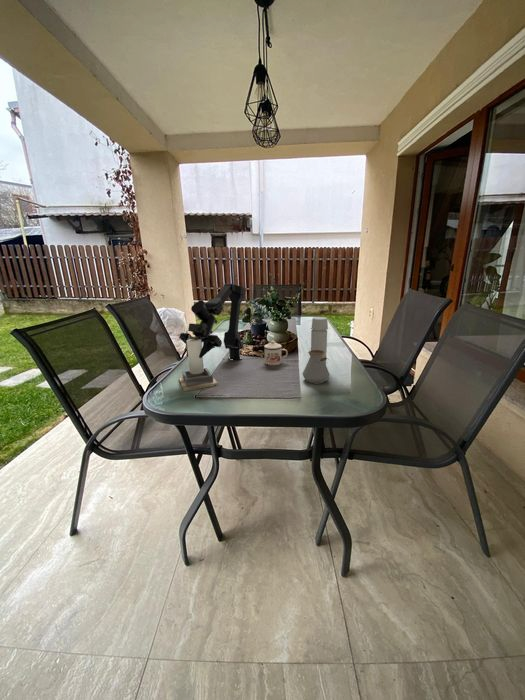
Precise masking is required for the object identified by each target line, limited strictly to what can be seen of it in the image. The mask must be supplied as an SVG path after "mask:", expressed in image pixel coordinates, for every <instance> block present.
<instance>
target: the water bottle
mask: <svg viewBox="0 0 525 700" xmlns="http://www.w3.org/2000/svg"><path fill="white" fill-rule="evenodd" d="M328 323H329V322H328V317H325V316H324V317H323V316H317V317H316V316H315V317H312V320H311V327H310V330H311V332H310V335H311V336H310V351H311V350H321V351H324V354H323V358H324V357H326V358H327V347H328V330H329V327H328V326H329V324H328ZM324 362H325V364H326V365H327V360H325V361H324Z"/></svg>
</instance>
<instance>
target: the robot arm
mask: <svg viewBox="0 0 525 700" xmlns="http://www.w3.org/2000/svg"><path fill="white" fill-rule="evenodd" d="M245 296H246V288H245V287H244V286H243V285H241V286H240V285H237V284H235V283H224V284H223V287H222V288H221V289H220V291H218V293H217V294H216V295H215V296H214V298H212V299H209V300H208V301H207V302H205V301H204V300H202V299H200V300H198V301H197V302H195V303H194V304H193V305H192V306H191V308H190V309H191V312H192V313H193V314H194V316H195V317H196V318H197V319H198V320H200V323H191V322H190V323H189V324H188V328H187V329H188V330H187V331H188V332H192V333H191V334H192V335H194V336H192V335H191V334H190V333H188V332H181V333H180V334H179V337H178V339H180V340H181V341H182V342H183V343H184V344H186V345H187V340H189V339H195V338H197V339H201V343H202V350H201V352H200V355H199V357H200V358H202V357H203V358H204V356H205V355H206V354H207V353H209V352H210V351H211V350H213V349H215V348H221V347H222V344H223V345H224V348H225V349H228V351H229V352H228V355H229V356H228V357H230V359H233V360H236V361H240V360H239V359H240V357H241V350H243V348H244V342H243V341H242V340H241V334H240V332H239V323H240V314H241V313H240V311H241V304H242V302H243V301H244V299H245ZM228 299H229V300H230V310H229V311H230V313H229V322H228V329H227V331H225V332H224V337H223V341H222V340H221V338H220V337H219V336H218V335H217V334H213V331H212V329H213V327H214V324H218V319H217V317H215V316H220V315H221V313H222V312H223V310H224V304H225V302H226V301H227V300H228ZM186 357H187V358H188V350H187V349H186Z"/></svg>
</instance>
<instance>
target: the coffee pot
mask: <svg viewBox="0 0 525 700" xmlns="http://www.w3.org/2000/svg"><path fill="white" fill-rule="evenodd" d="M307 353H308V354H309V358H308V360H307V362H306V365H305V367H304V369H303V372H302V377H303V379H304V380H305V381H307V382H308V383H310V384H315V385H317V384H324V382H326V381H327V380H329V378H330V372H329V369H328V367H327V363H326V364H325V362H324V361H325V360H326V361H327V360H328V357H327V356H326V357H324V358H323V354H324V351H321V350H311V349H310V350H309V351H308V352H307Z"/></svg>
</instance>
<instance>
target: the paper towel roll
mask: <svg viewBox="0 0 525 700" xmlns="http://www.w3.org/2000/svg"><path fill="white" fill-rule="evenodd" d="M202 347H203V342H201V339H197V338H195V339H189V340H187V344H186V351H187V350H188V357H187V359H188V368H189V370H188V371H190V373H191V374H200V373H203V372H204V356H203V357H202V358H200V357H199V355H200V352H201V350H202Z"/></svg>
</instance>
